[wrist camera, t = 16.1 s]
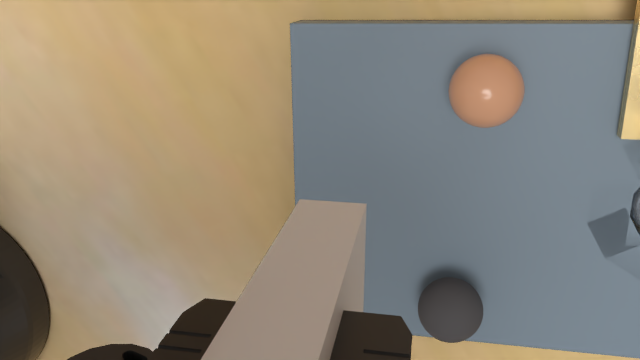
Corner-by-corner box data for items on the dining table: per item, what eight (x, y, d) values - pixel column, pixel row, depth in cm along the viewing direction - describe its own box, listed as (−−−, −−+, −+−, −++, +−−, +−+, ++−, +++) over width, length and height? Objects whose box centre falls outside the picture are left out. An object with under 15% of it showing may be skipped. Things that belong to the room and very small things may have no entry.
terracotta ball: (446, 117, 31) (446, 134, 28) (450, 49, 30) (450, 58, 27) (516, 120, 30) (525, 137, 27) (523, 50, 29) (532, 59, 26)
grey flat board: (307, 302, 39) (298, 323, 37) (301, 20, 33) (290, 23, 31) (790, 348, 34) (815, 376, 31) (882, 20, 28) (922, 23, 25)
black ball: (418, 317, 35) (414, 352, 32) (420, 263, 34) (417, 294, 31) (479, 323, 34) (482, 359, 31) (484, 268, 33) (487, 300, 30)
